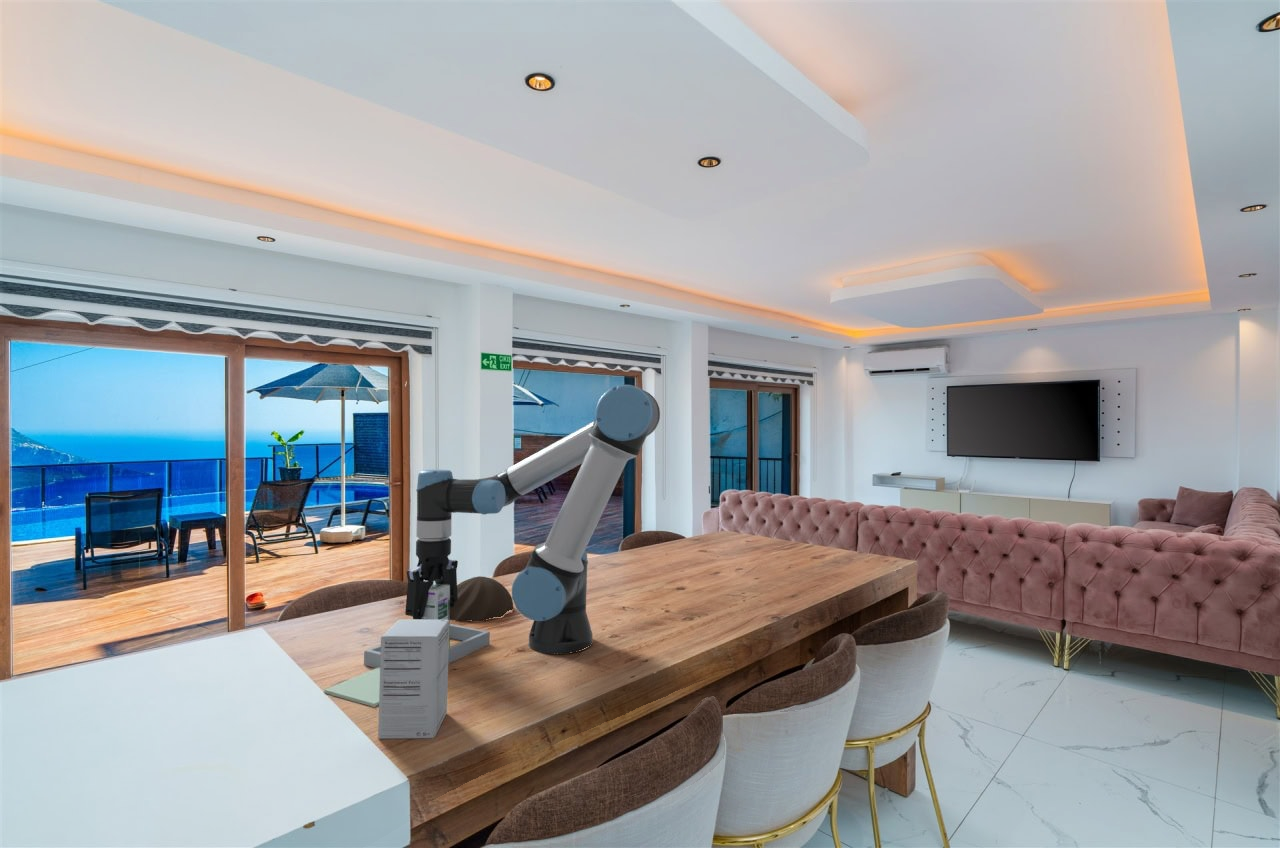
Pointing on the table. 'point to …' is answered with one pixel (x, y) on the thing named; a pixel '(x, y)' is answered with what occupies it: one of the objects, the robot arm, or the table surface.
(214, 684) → the table surface
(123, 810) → the table surface
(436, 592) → the syrup box
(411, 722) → the supplement box
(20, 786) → the table surface
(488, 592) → the decorative dome
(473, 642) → the gray rectangular frame
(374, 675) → the mat
